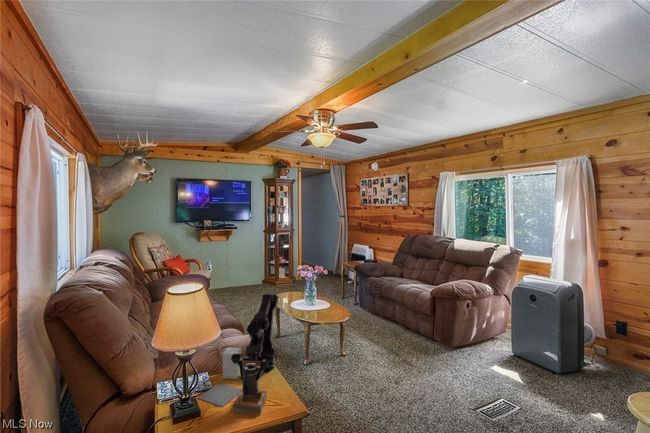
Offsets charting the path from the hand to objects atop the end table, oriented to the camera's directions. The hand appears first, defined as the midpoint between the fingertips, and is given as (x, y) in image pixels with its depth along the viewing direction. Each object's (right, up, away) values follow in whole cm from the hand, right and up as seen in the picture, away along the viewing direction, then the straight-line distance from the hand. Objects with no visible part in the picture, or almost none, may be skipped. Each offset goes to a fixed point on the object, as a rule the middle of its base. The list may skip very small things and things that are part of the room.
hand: (249, 379), depth 146 cm
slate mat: (-15, -12, +10) cm, 21 cm away
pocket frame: (0, -12, +2) cm, 12 cm away
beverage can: (0, -7, +2) cm, 7 cm away
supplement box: (-15, -11, +27) cm, 33 cm away
